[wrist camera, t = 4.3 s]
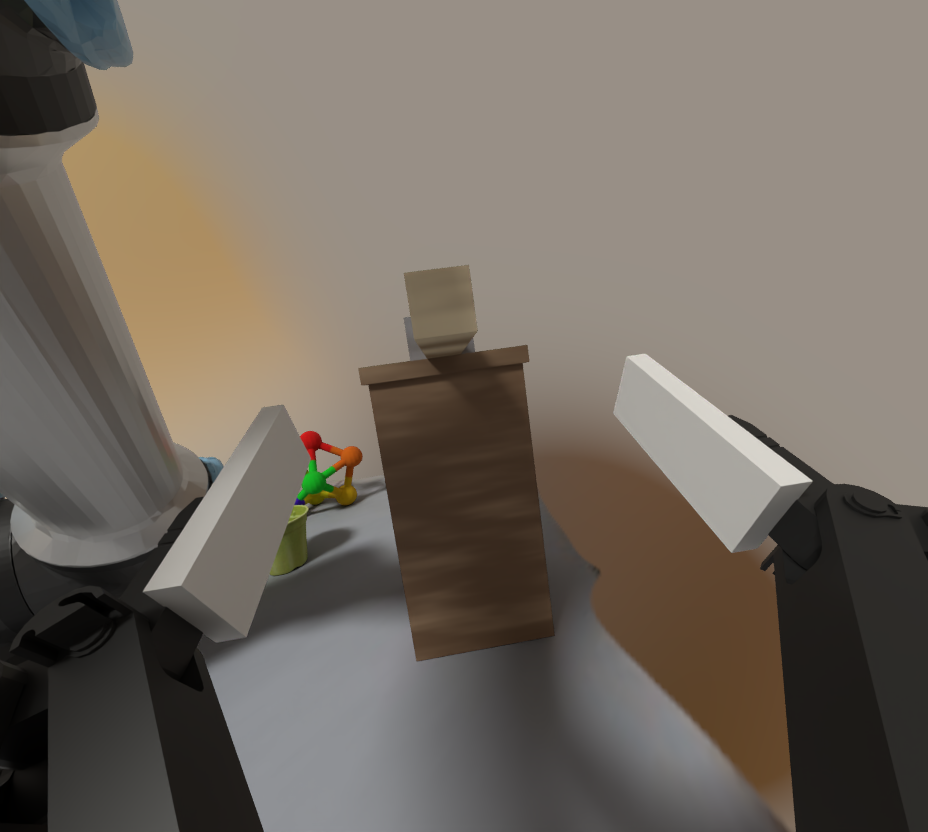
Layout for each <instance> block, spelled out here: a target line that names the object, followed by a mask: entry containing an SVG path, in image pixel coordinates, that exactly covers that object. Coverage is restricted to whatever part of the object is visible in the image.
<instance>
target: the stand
mask: <svg viewBox="0 0 928 832" xmlns="http://www.w3.org/2000/svg"><path fill="white" fill-rule="evenodd" d="M526 362H529V355H528V346H527V345H523V346H516V347H509V348H501V349H494V350H487V351H480V352H472V353H465V354H458V355H450V356H443V357H436V358H429V359H421V360H414V361H407V362H400V363H392V364H385V365H378V366H370V367H363V368H359V375H360V380H361V385H369V391H370V397H371V402H372V408H373V414H374V420H375V425H376V431H377V437H378V443H379V448H380V454H381V459H382V465H383V471H384V477H385V483H386V488H387V494H388V500H389V506H390V511H391V517H392V523H393V529H394V534H395V540H396V546H397V552H398V557H399V563H400V569H401V575H402V580H403V586H404V592H405V597H406V603H407V609H408V615H409V620H410V626H411V632H412V638H413V643H414V649H415V655H416V661H421V660H427V659H432V658H437V657H443V656H448V655H454V654H459V653H464V652H470V651H475V650H480V649H486V648H491V647H497V646H502V645H507V644H513V643H518V642H523V641H529V640H534V639H540V638H545V637H550V636H555V635H554V627H553V618H552V610H551V601H550V593H549V584H548V576H547V567H546V559H545V550H544V542H543V533H542V525H541V516H540V508H539V499H538V491H537V483H536V474H535V465H534V457H533V448H532V440H531V432H530V423H529V415H528V406H527V397H526V389H525V380H524V372H523V363H526Z"/></svg>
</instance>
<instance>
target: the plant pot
mask: <svg viewBox="0 0 928 832" xmlns="http://www.w3.org/2000/svg"><path fill="white" fill-rule="evenodd" d="M308 510H309V509H308V507H307V506H305V505H294V507H293V510H292V513H291V515H290V518H289V521H288V524H287V526H286V529H285V532H284V535H283V538H282V540H281V543H280V546H279V549H278V551H277V554H276V557H275V560H274V562H273V565H272V568H271V571H270V575H273V576H275V575H282V574H286V573H289V572H291V571H292V570H293V569H294V568H296V567H298V566H301V565H303V564H304V563H305V562H306V560H307V540H306V520H307V513H308Z"/></svg>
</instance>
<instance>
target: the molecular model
mask: <svg viewBox="0 0 928 832" xmlns="http://www.w3.org/2000/svg"><path fill="white" fill-rule="evenodd" d="M300 438H301V440H302V442H303V444H304V446H305V448H306V449H307V451H308V453H309V455H310V457H311V460H310V463H309V465H308V466H309V472H308V470H307V471H306V474H305V477H304V479H303V482H302V488H303V490H302V491H301V492H300V493H299V494H298V496H297V499H296V501H295V504H294V505H306V504H307V503H309V504H312V505H316V504H319V503H321V502H322V501H323V500H324V499H325V498H336V500H337V502H338V503H340V504H341V505H350V504H352V503H353V502H354V501H355V499H356V497H357V492H356V489H355V488H354V487H353V486H351V483H352V475H353V469H354V467H355V466H357V465H358V464H359V463H360V462H361V461H362V453H361V451H360V449H358V448H357V447H354V446H350V447H347V448H345V449H344V450H342V449H339V448H337V447H334V446H331V445H329V444H326V443H323V442H322V440H321V437H320V435H319V434H318V433H316V432H314V431H307V432H305V433H303V434H302V435H301V436H300ZM318 449H322V450H324V451H327V452H330V453H333V454H335V455H338V456H341V460H340V461H339V462H337V463H336V464H334V465H333V466H331V467H330V468H329V469H327V470H326V471H324V472H323V473H320V472H317V465H316V456H315V451H316V450H318ZM344 466H347V468H346V475H345V482H344V485H343V486H341V487H339V488H337V487H334V486H332V485H329V484H327V483H326V478H328V477H329V476H331V475H332V474H333V473H335V472H336V471H338V470H339V469H341V468H342V467H344Z"/></svg>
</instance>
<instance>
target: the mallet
mask: <svg viewBox="0 0 928 832" xmlns="http://www.w3.org/2000/svg"><path fill="white" fill-rule="evenodd" d="M404 276H405V284H406V290H407V296H408V303H409V309H410V316H411V317H406V318H404V323H405V329H406V335H407V342H408V348H409V354H410V361H414V360H421V359H429V358H436V357H443V356H450V355H458V354H465V353H472V352H475V349H474V341H473V337H474V335H475V334H476V333H477V331H478V330H477V322H476V315H475V307H474V300H473V292H472V284H471V277H470V269H469V265H464V266H456V267H448V268H440V269H431V270H423V271H416V272H408V273H404Z"/></svg>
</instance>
